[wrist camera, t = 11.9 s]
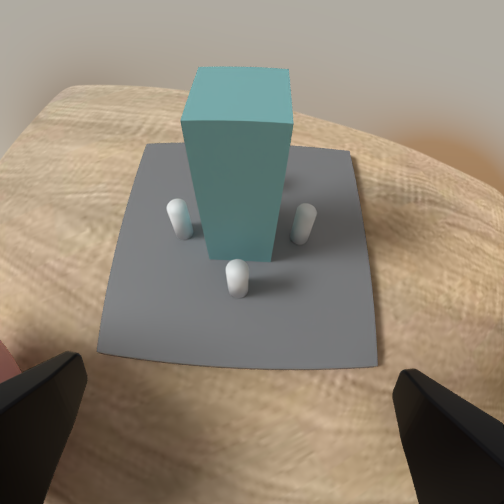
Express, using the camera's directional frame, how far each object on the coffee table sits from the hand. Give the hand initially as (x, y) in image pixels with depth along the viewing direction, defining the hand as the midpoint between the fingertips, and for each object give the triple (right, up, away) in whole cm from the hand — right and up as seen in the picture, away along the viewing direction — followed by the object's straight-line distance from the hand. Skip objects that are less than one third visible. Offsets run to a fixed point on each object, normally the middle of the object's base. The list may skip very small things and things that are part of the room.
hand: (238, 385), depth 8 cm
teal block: (0, +5, +17) cm, 17 cm away
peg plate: (0, +4, +17) cm, 18 cm away
